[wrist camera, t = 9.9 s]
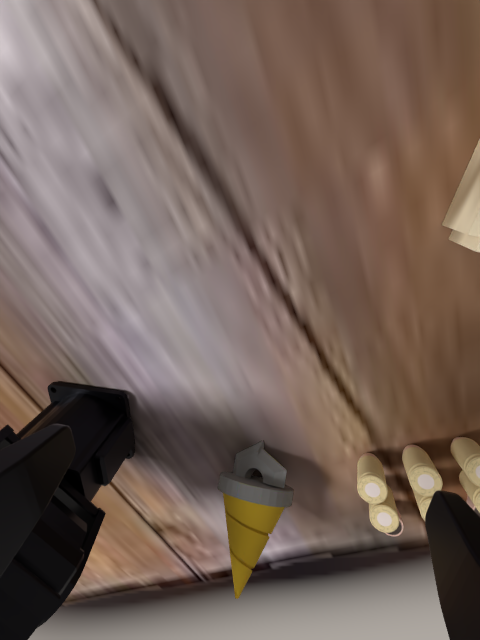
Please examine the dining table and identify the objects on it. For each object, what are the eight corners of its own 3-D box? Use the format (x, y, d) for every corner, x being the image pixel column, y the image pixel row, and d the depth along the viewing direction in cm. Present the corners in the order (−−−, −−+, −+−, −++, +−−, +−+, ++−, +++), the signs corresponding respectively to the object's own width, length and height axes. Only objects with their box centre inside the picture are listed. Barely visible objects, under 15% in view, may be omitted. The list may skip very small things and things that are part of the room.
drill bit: (312, 450, 25) (292, 610, 22) (255, 437, 28) (231, 573, 25) (273, 443, 21) (243, 634, 18) (214, 429, 24) (180, 588, 21)
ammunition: (355, 488, 19) (392, 576, 21) (503, 464, 16) (527, 566, 19) (345, 429, 23) (377, 508, 25) (462, 404, 21) (485, 494, 23)
